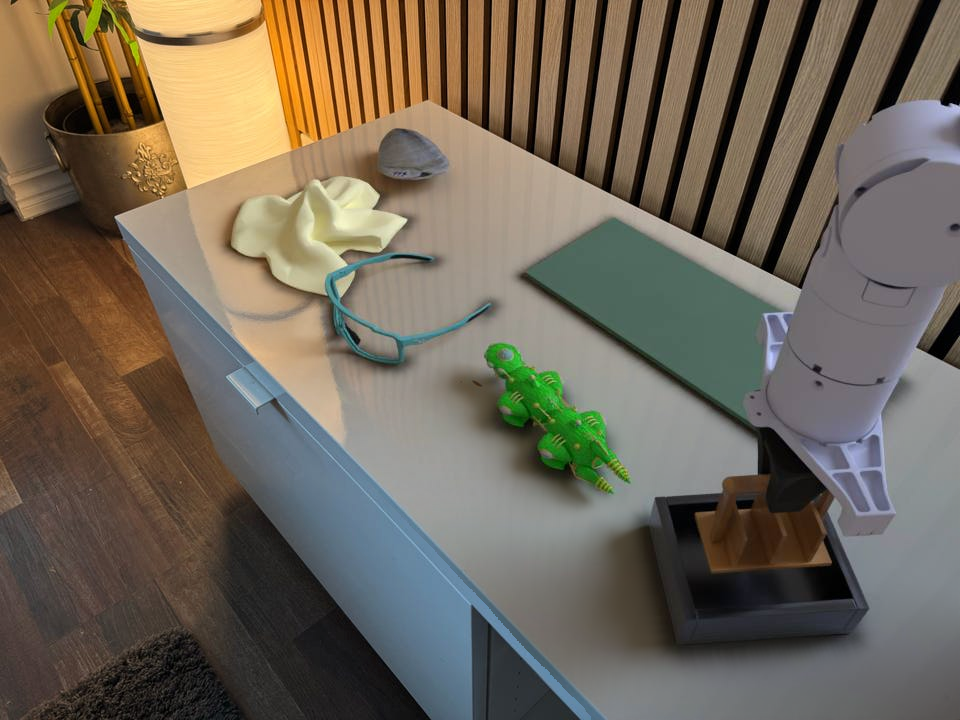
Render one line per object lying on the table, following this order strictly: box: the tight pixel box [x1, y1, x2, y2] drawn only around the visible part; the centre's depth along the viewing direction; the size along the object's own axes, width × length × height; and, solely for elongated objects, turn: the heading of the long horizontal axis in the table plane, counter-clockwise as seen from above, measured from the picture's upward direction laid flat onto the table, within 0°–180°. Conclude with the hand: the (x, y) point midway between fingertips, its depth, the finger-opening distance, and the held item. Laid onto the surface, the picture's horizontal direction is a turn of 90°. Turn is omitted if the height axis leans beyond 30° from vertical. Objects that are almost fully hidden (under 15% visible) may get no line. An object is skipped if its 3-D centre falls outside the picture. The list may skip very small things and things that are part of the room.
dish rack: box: [694, 474, 836, 573], centre depth 49 cm, size 8×4×7 cm, turn 93°
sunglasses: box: [325, 252, 491, 365], centre depth 75 cm, size 14×15×5 cm
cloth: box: [230, 175, 408, 299], centre depth 84 cm, size 22×19×6 cm
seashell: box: [376, 127, 451, 181], centre depth 93 cm, size 12×8×5 cm
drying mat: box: [524, 216, 902, 432], centre depth 74 cm, size 34×14×1 cm, turn 41°
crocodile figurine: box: [483, 342, 632, 495], centre depth 64 cm, size 7×18×4 cm, turn 34°
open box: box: [648, 492, 870, 646], centre depth 54 cm, size 12×10×4 cm
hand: (779, 496), depth 48 cm, fingers closed on dish rack
